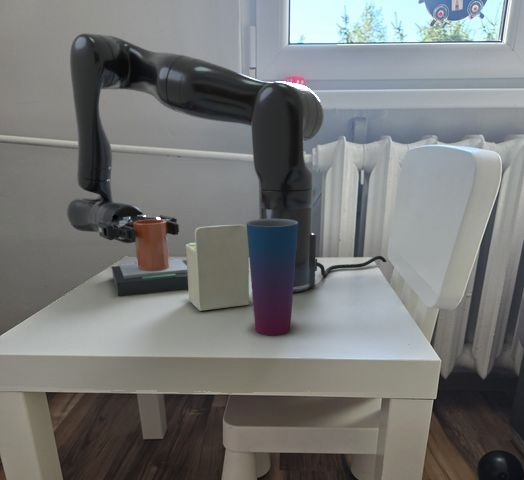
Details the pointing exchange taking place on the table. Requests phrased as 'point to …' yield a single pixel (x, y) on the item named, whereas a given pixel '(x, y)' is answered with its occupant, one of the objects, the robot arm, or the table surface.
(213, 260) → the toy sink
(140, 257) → the tumbler
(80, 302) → the table surface
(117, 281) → the scale
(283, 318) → the cup
